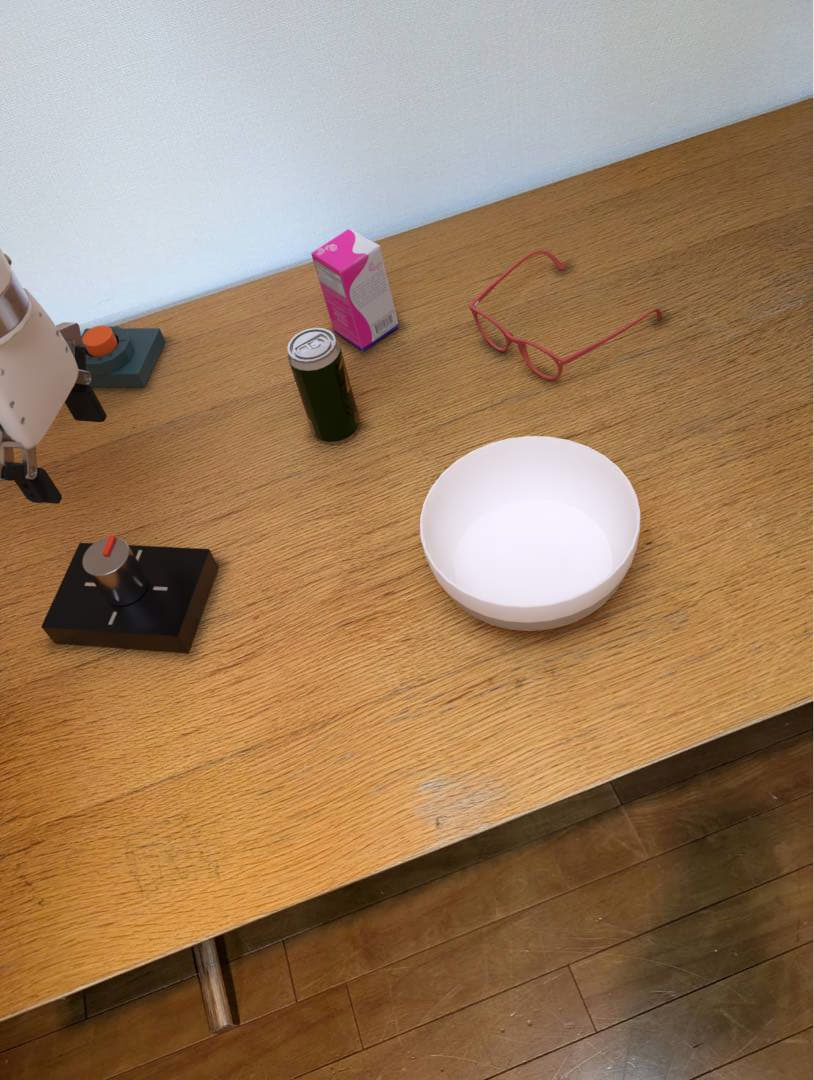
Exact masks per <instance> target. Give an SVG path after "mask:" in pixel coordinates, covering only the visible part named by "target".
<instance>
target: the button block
mask: <svg viewBox="0 0 814 1080" xmlns="http://www.w3.org/2000/svg"><path fill="white" fill-rule="evenodd" d="M107 326H108V325H107ZM108 327H110V328H111V329H112V331H113V333H114V335H115V337H116V339H117V342H118V343H117V347H116V348H115V349H114V350H113V351H112V352H111V353H109V354H107V355H104V356H101V357H93V356H91V355H90V354H89V353H88V351H87V349H86V347H85V345H84V344H83V341H82V344H81V347H84V348H85V351H86V371H88V372H90V374H91V383H90V384H89V386H91V387H92V388H145V387H146V385H147V383H148V381H149V380H150V377H151V374H152V372H153V371H154V368H155V366H156V364H157V361H158V360H159V357H160V355H161V352H162V350H163V349H164V346H165V344H166V342H167V341H166V339H165V337H164V335H163V333H162V330H161V329H160V327H138V328H137V327H135V328H134V327H133V328H132V327H130V328H129V327H128V328H127V327H126V328H125V327H124V328H123V327H122V328H121V327H120V326H117V325H115V326H114V325H113V326H108ZM89 329H90V328H85V329H84V330H83V332H82V334H81V339H82V338H83V335H84V334H85V333H86V332H87V331H88V330H89Z"/></svg>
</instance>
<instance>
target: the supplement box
mask: <svg viewBox="0 0 814 1080" xmlns="http://www.w3.org/2000/svg"><path fill="white" fill-rule="evenodd" d="M381 247H382V246H381V245H380V244H379V243H376V242H374V241H372V240H371V239H370V238H367V237H365V236H363V235H362V234H360V233H359V232H356V231H355V230H353V229H352V228H350V227H349V228H347V229H346V230H345V231H343V232H341V233H340V234H338V235H337V236H335V237H334V238H332V239H331V240H329V241H328V242H326V243H324V244H323V245H321V246H320V247H318V248H317V249H315V250H314V251H312V252H311V253H310V255H311V259H312V262H313V265H314V269H315V272H316V275H317V278H318V282H319V285H320V288H321V292H322V295H323V298H324V301H325V305H326V309H327V312H328V316H329V319H330V323H331V326H332V328H333V332H334V333H335V334H337V335H338V336H340V337H341V338H343V339H344V340H346V342H348V343H350V345H352V346H354V347H355V348H357V350H360V352H362V353H364V352H366V351H367V350H368V349H370V348H371V347H372V346H374V345H376V344H377V343H379V342H380V341H381V340H383V339H385V337H387V336H389V335H390V334H391V333H394V331H395V330H397V329H399V328H400V324H399V321H398V316H397V311H396V308H395V303H394V299H393V294H392V291H391V290H392V289H391V287H390V281H389V278H388V277H389V276H388V273H387V269H386V265H385V260H384V257H383V256H384V255H383V252H382V248H381Z"/></svg>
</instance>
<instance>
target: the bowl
mask: <svg viewBox="0 0 814 1080" xmlns="http://www.w3.org/2000/svg"><path fill="white" fill-rule="evenodd" d="M421 507H422V508H421V513H420V517H419V539H420V542H421V546H422V549H423V553H424V555H425V558H426V561H427V564H428V566H429V569H430V570H431V573H432V574H433V576H434V578H435V579H436V581H437V583H438V584H439V585H440V587H441V588H442V589H443V591H444V592H445V593H446V594H447V596H448V597H449V598H450V599H451V600H452V601H453V602H454V603H455V604H456V605H457V607H458V608H459V609H461V610H462V611H464V612H465V613H466V614H468V615H470V616H471V617H472V618H474V619H477V620H478V621H481V622H484V623H486V624H487V625H490V626H494V627H497V628H501V629H506V630H510V631H511V630H512V631H525V632H535V631H547V630H552V629H556V628H559V627H561V628H562V627H564V626H568V625H570V624H573V623H576V622H578V621H579V620H582V619H584V618H586V617H588V616H590V615H591V614H593V613H594V612H595V611H597V610H598V609H600V608H601V607H603V606H604V605H605V604H606V603H607V602H608V601H609V599H610V598H612V597H613V595H614V594H615V593H616V592H617V590H618V589H619V587H620V586H621V584H622V583H623V581H624V580H625V577H626V576H627V573H628V571H629V569H630V568H631V566H632V564H633V561H634V558H635V555H636V552H637V549H638V545H639V539H640V533H641V519H642V514H641V513H642V512H641V507H640V503H639V498H638V496H637V493H636V491H635V489H634V487H633V484H632V483H631V481H630V480H629V478H628V477H627V476H626V474H625V473H624V472H623V471H622V470H621V468H620V467H619V466H618V465H617V464H615V463H614V462H613V461H612V460H611V459H610V458H608V457H607V456H605V455H604V454H603V453H600V452H599V451H597V450H595V449H594V448H591V447H589V446H587V445H585V444H582V443H579V442H577V441H573V440H570V439H567V438H560V437H554V436H545V435H544V436H541V435H540V436H539V435H525V436H517V437H509V438H505V439H501V440H498V441H493V442H490V443H488V444H485V445H483V446H480V447H478V448H476V449H473V450H471V451H469V452H468V453H467V454H465V455H463V456H461V457H460V458H458V459H457V460H455V461H454V462H453V463H452V464H450V465H449V466H448V467H447V468H446V469H445V470H444V471H443V472H442V473H441V474H440V475H439V477H438V478H437V479H436V481H435V482H434V483H433V485H432V486H431V487H430V489H429V491H428V493H427V495H426V497H425V499H424V501H423V504H422V506H421Z"/></svg>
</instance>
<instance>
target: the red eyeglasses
mask: <svg viewBox="0 0 814 1080" xmlns="http://www.w3.org/2000/svg"><path fill="white" fill-rule="evenodd" d="M536 255H544V256H547V257H548V258H550V260H551V261H552V262H553V263H554V264H555V266H556V267H557V269H559V270H560V271H563V270H565V268H566V266H565V265H564V264H563V263H562V262H561V261H560V260H559V259H558V258H557V257H556V256H554V254H552V253H551V252H549V251H547V250H544V249H543V250H542V249H540V250H534V251H532V252H529V253H527V254H526V255H525V256H523V257H521V258H520V259H519V260H518V261H517V262H516V263H514V264H513V265H512V266H511V267H509V269H507V270H506V271H504V273H503V274H501V276H499V277H498V278H497V279H495V281H493V282H492V283H491V284H490V285H488V286H487V287H486V288H485V289H484V290H483V291H482V292H481V293H480V294H479V295H478V296H477V297H475V298H474V299H473V300H472V301H471V302H470V303H469V304H468V308H469V310H470V312H471V314H472V316H473V320H474V322H475V324H476V326H477V328H478V330H479V332H480V333H481V335H482V337H483V338H484V339H485V340H486V342H487V343H488V344H489V345H490V347H492V348H493V349H494V350H496V351H498V352H501V353H504V352H507V351H508V350H509V348H510V346H511V345H512V343H514V344H516V345H517V348H518V351H519V353H520V355H521V357H522V359H523V360H524V362H525V363H526V365H527V366H528V367H529V368H530V369H531V371H533V372H534V373H535V374H536V375H537V376H538V377H540V378H542V379H545V380H548V381H556V380H558V379H559V378H560V377H561V375H562V373H563V367H564V366H566V365H568V364H570V363H572V362H573V361H576V360H578V359H579V358H581V357H583V356H585V355H587V354H589V353H591V352H593V351H594V350H596V349H597V348H599V347H600V346H602V345H604V344H606V343H607V342H609V341H610V340H613V339H614V338H615V337H617V336H619V335H621V334H622V333H625V331H627V330H629V329H630V328H632V327H634V326H635V325H636V324H638V323H640V322H641V321H642V320H644V319H645V318H646V317H648V316H650V315H652V314H653V313H656V320H657V321H660V320H661V319H662V317H663V314H662V311H661V309H659V308H653V309H651V310H649V311H648V312H646V313H644V314H643V315H641V316H640V317H639V318H637V319H635V320H634V321H632V322H630V323H629V324H627V325H625V326H623V327H621V328H620V329H618V330H616V331H615V332H613V333H611V334H609V335H608V336H606V337H604V338H603V339H600V340H599V341H596V342H594V343H592V344H590V345H588V346H586V347H584V348H582V349H579V350H578V351H576V352H574V353H573V354H570V355H568V356H566V357H564V358H562V357H561V356H558V355H557V354H555V353H553V352H552V351H550V350H548V349H547V348H545V347H543V346H542V345H540V344H538V343H535V342H533V341H531V340H530V339H527V338H526V339H525V338H519V337H516V336H514V334H513V333H512V332H510V331H508V330H507V329H506V328H504V327H503V326H502V324H500V323H499V321H497V320H495V319H494V318H493V317H491V316H490V315H488V314H487V313H485V312H484V311H482V310H481V309H479V308H477V306H478V305H479V304H480V303H481V302H482V301H483V300H484V299H485V298H486V297H487V296H488V295H489V294H490V293H491V292H492V291H493V290H494V289H495V288H496V287H497V286H498V285H499V284H500V283H501V282H502V281H503V280H505V278H506V277H507V276H508V275H509V274H511V273H512V272H513V271H515V269H516V268H518V267H519V266H520V265H521V264H522V263H523V262H525V261H526V260H528V259H529V258H531V257H532V256H536ZM478 315H480V316H481V317H483V318H484V319H486V320H487V321H489V322H490V323H491V324H493V325H494V326H495V327H496V328H497V329H498V330H499V331H500V332H501V333H502V335H503V337H504V338H505V342H506V346H505V347H501V346H499V345H497V344H495V343H494V342H493V341H492V340H491V338H490V337H489V336H488V335H487V334H486V332H485V330H484V328H483V326H482V325H481V322H480V320H479V317H478ZM527 345H529V346H531V347H532V348H533V347H534V349H537V350H539V351H540V352H542V353H544V354H546V355H547V356H548V357H550V358H551V360H552V361H554V363H555V365H556V367H557V374H556V375H554V376H550V375H547V374H544V373H543V372H541V371H540V370H539V369H537V368H536V366H534V363H532V361H531V358H530V356H529V351H528V348H527Z"/></svg>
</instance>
